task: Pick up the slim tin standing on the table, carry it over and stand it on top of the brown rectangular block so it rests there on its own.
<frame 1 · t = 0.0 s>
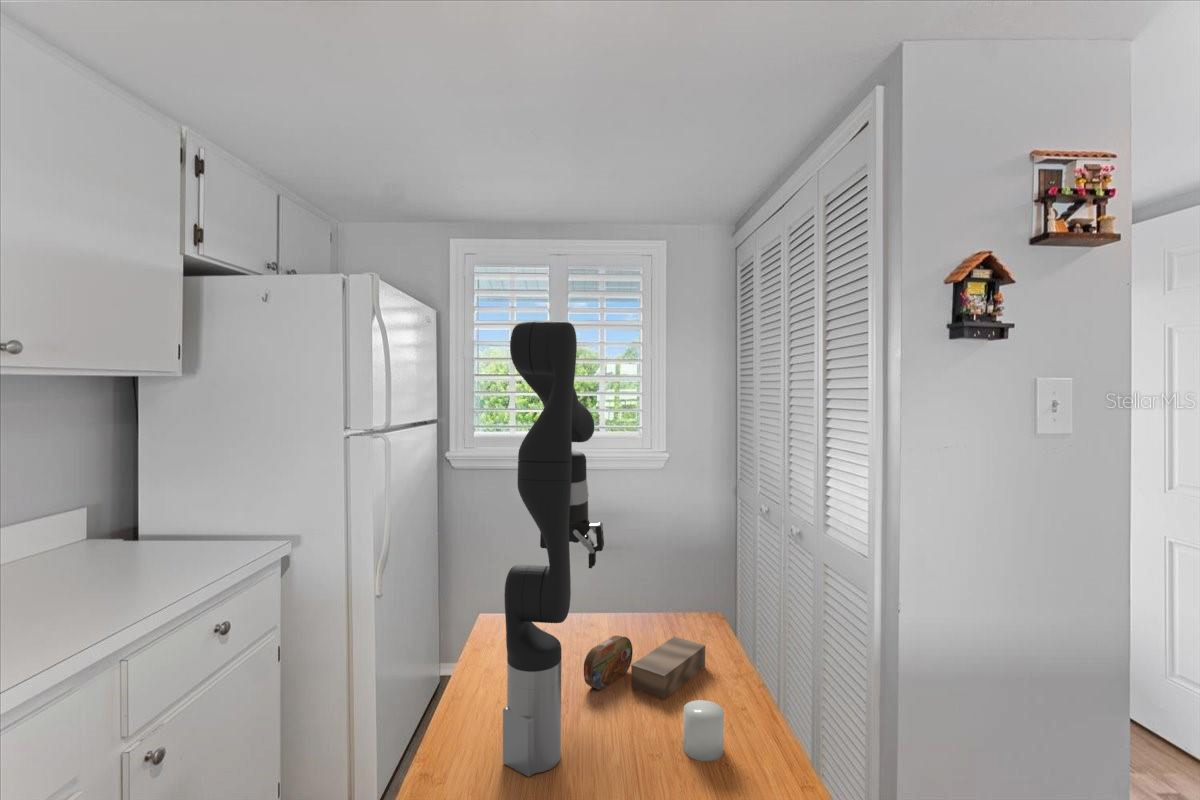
hand: (572, 565, 142), 22 cm above the table, tool pointing down, fingers open, 8 cm apart
brown rectangular block: (669, 677, 137), on the table
tin: (608, 680, 136), on the table
white rounded capsule: (703, 749, 111), on the table
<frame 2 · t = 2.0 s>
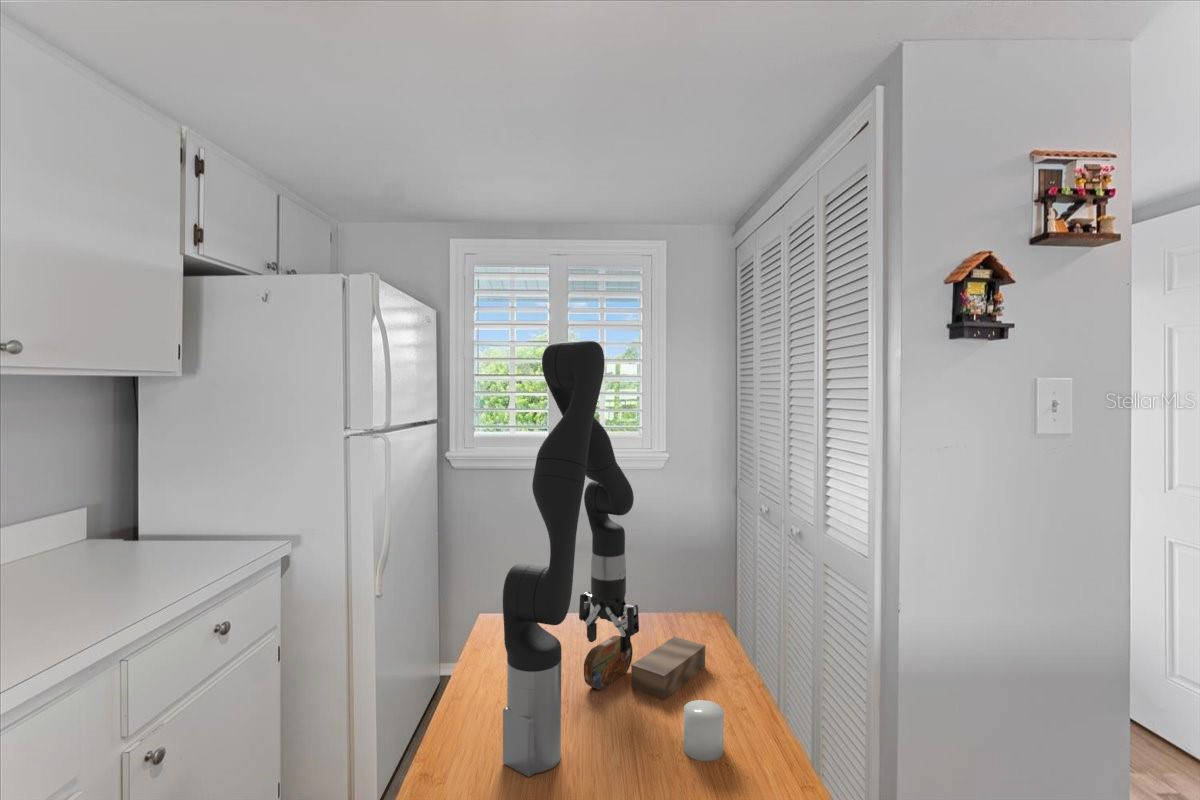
hand: (608, 646, 136), 7 cm above the table, tool pointing down, fingers open, 8 cm apart
nothing on the table moved.
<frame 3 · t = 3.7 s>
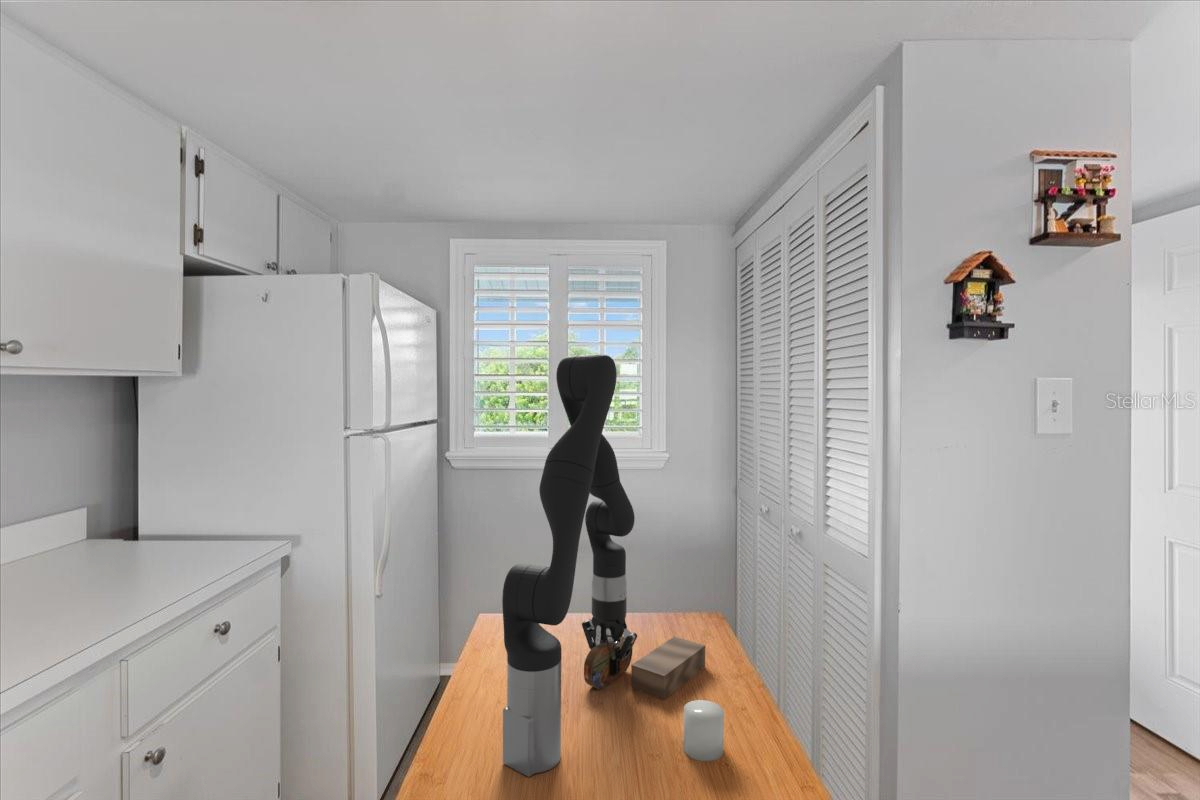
hand: (608, 672, 135), 2 cm above the table, tool pointing down, fingers closed on tin, 2 cm apart
tin: (607, 679, 136), on the table, touching gripper
everything else where it was.
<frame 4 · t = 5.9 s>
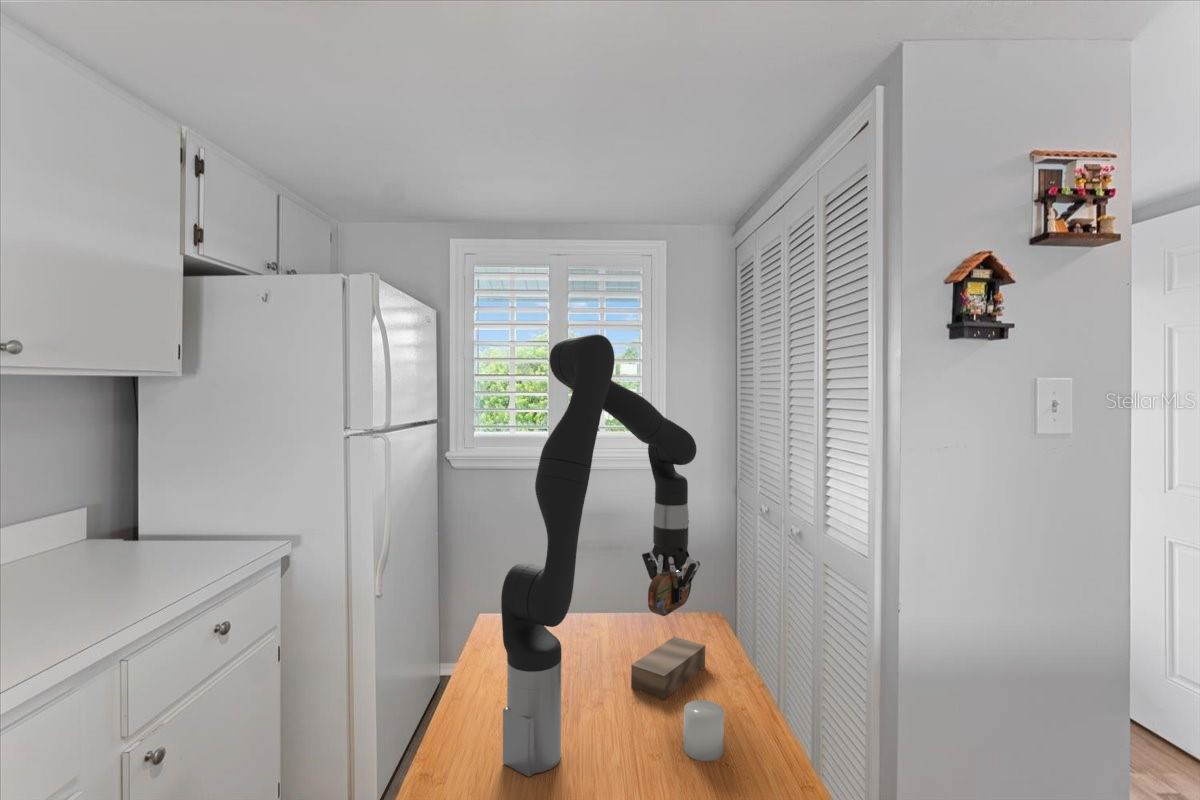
hand: (669, 601, 136), 17 cm above the table, tool pointing down, fingers closed on tin, 2 cm apart
tin: (668, 609, 136), point 15 cm above the table, touching gripper
everything else where it was.
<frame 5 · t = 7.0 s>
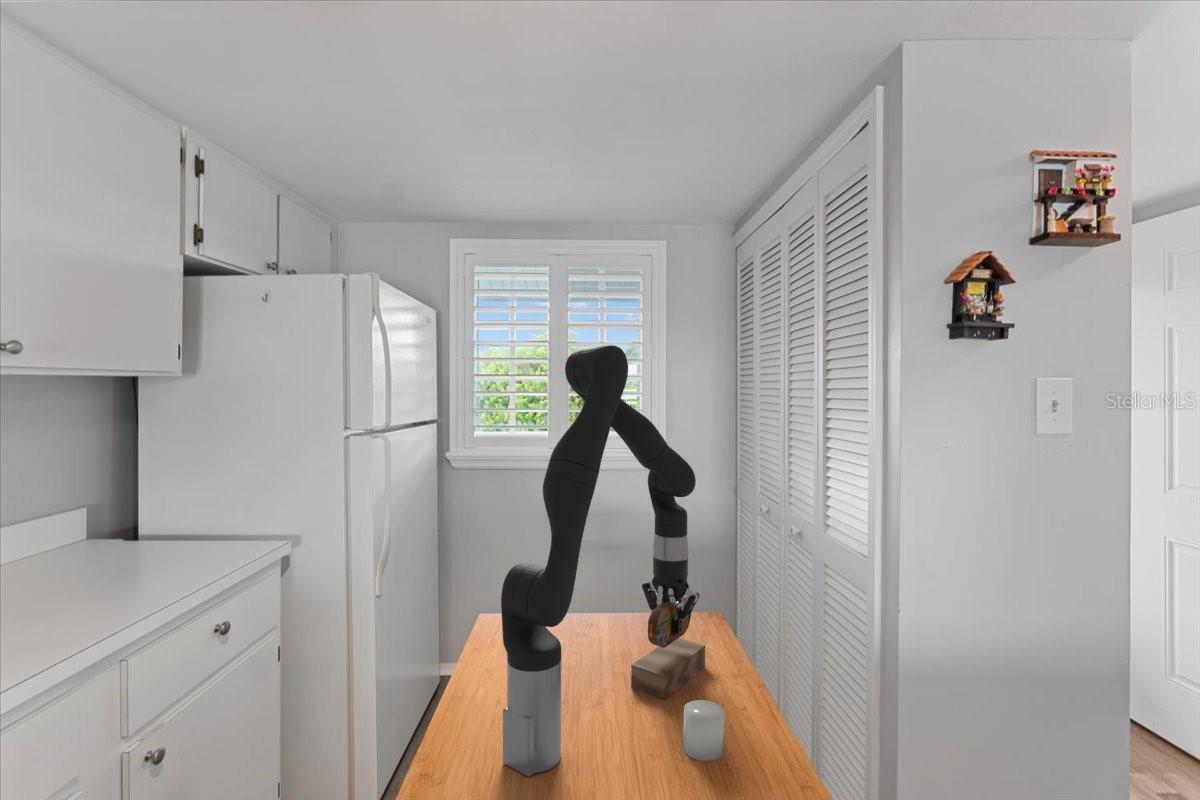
hand: (669, 632, 136), 10 cm above the table, tool pointing down, fingers closed on tin, 2 cm apart
tin: (668, 640, 137), point 8 cm above the table, touching gripper
everything else where it was.
when the fingers open (7 cm above the table, at t = 8.1 s): tin stays where it is, resting on brown rectangular block.
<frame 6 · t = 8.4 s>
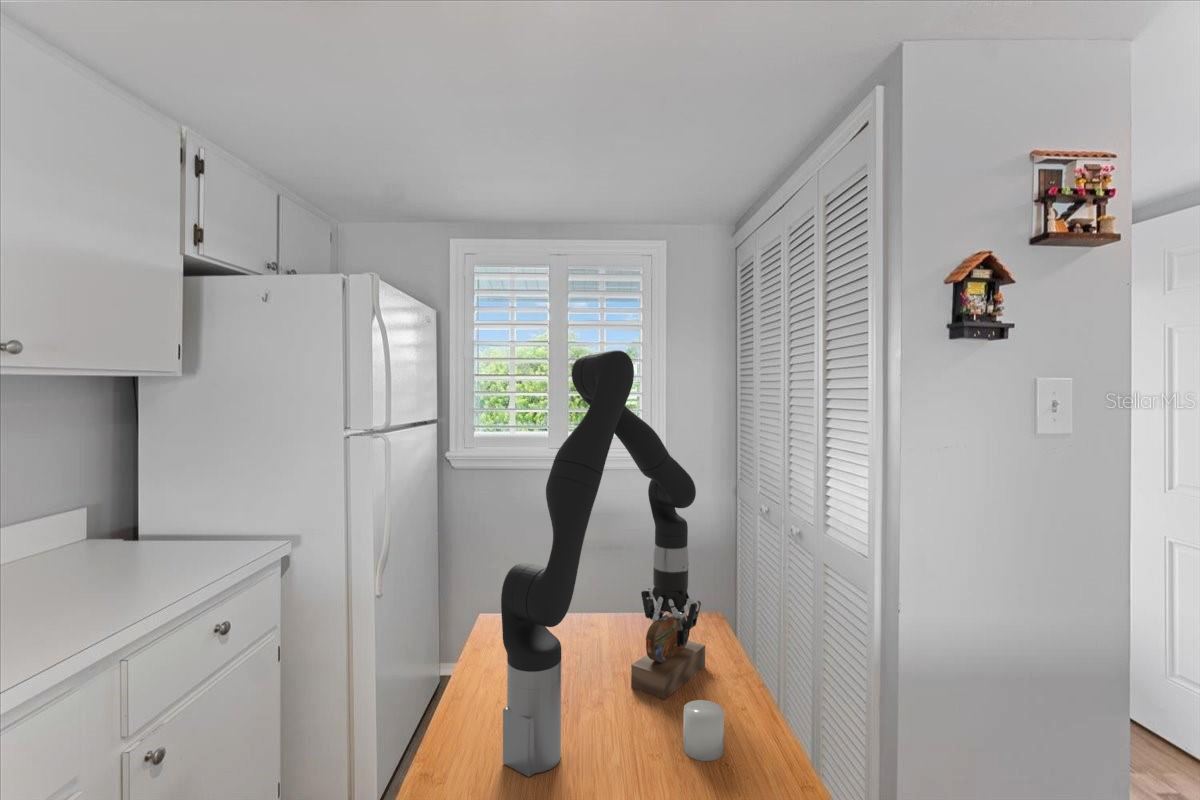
hand: (669, 641, 136), 8 cm above the table, tool pointing down, fingers open, 5 cm apart
tin: (667, 655, 137), point 5 cm above the table, touching brown rectangular block
everything else where it was.
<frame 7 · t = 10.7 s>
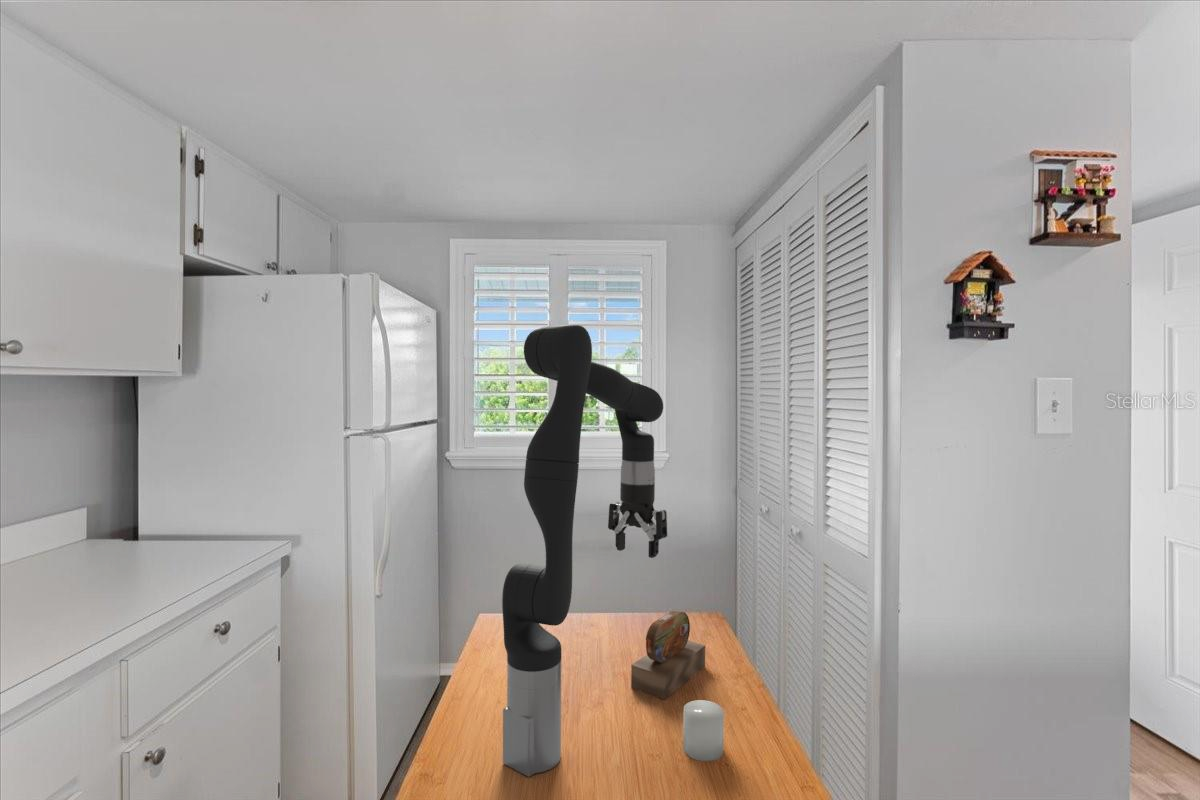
hand: (636, 553, 138), 27 cm above the table, tool pointing down, fingers open, 8 cm apart
nothing on the table moved.
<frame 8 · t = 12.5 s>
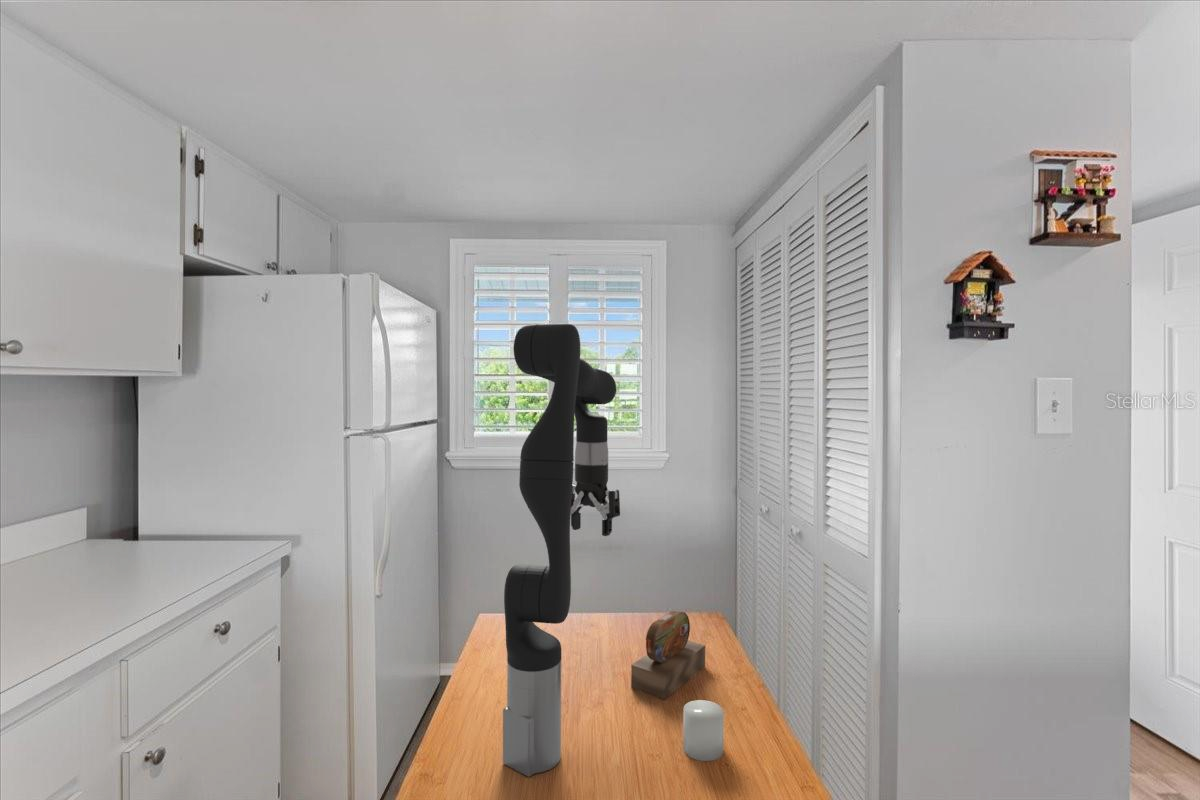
hand: (591, 532, 142), 30 cm above the table, tool pointing down, fingers open, 8 cm apart
nothing on the table moved.
at the end: tin inside the target area on the brown rectangular block (0.5 cm from its centre), point 4.8 cm above the brown rectangular block's base; tin tilted 0°; tin touching brown rectangular block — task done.
